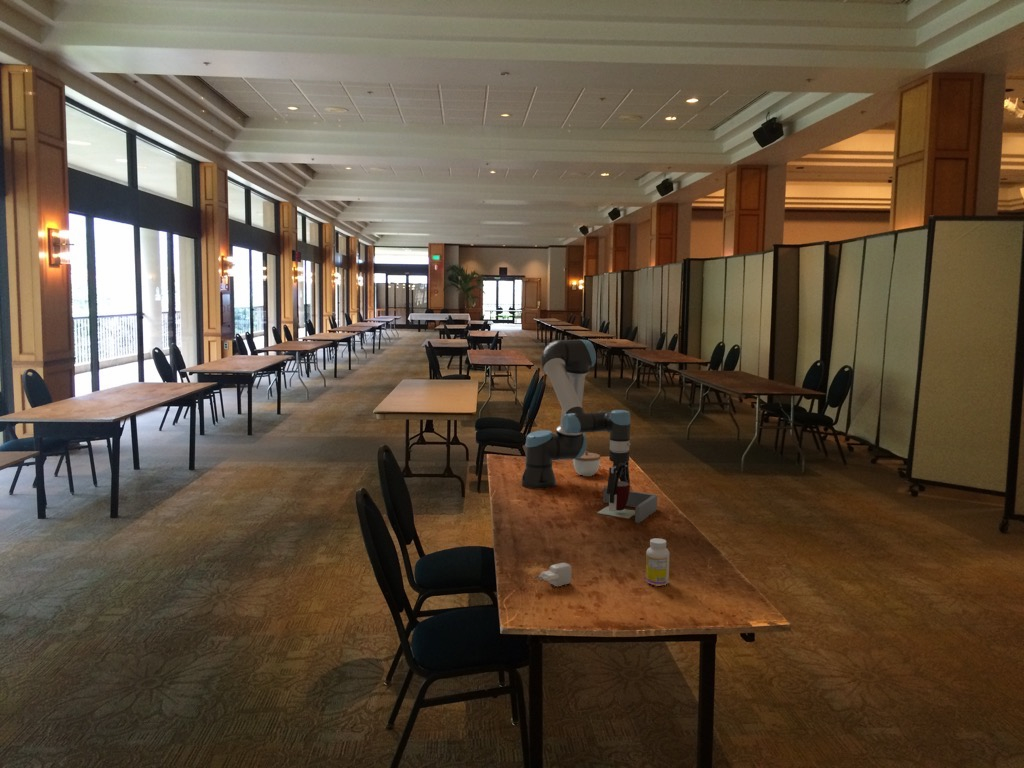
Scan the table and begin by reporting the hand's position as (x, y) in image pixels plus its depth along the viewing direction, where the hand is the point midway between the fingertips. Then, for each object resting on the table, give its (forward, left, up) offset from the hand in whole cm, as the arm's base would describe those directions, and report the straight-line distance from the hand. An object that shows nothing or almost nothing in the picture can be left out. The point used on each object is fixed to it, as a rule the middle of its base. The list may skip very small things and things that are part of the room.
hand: (618, 507), depth 292 cm
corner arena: (+1, +2, -2) cm, 3 cm away
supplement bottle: (+37, -60, -2) cm, 71 cm away
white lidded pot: (-36, +49, -2) cm, 61 cm away
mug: (0, 0, -1) cm, 1 cm away
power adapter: (+12, -78, -2) cm, 79 cm away
